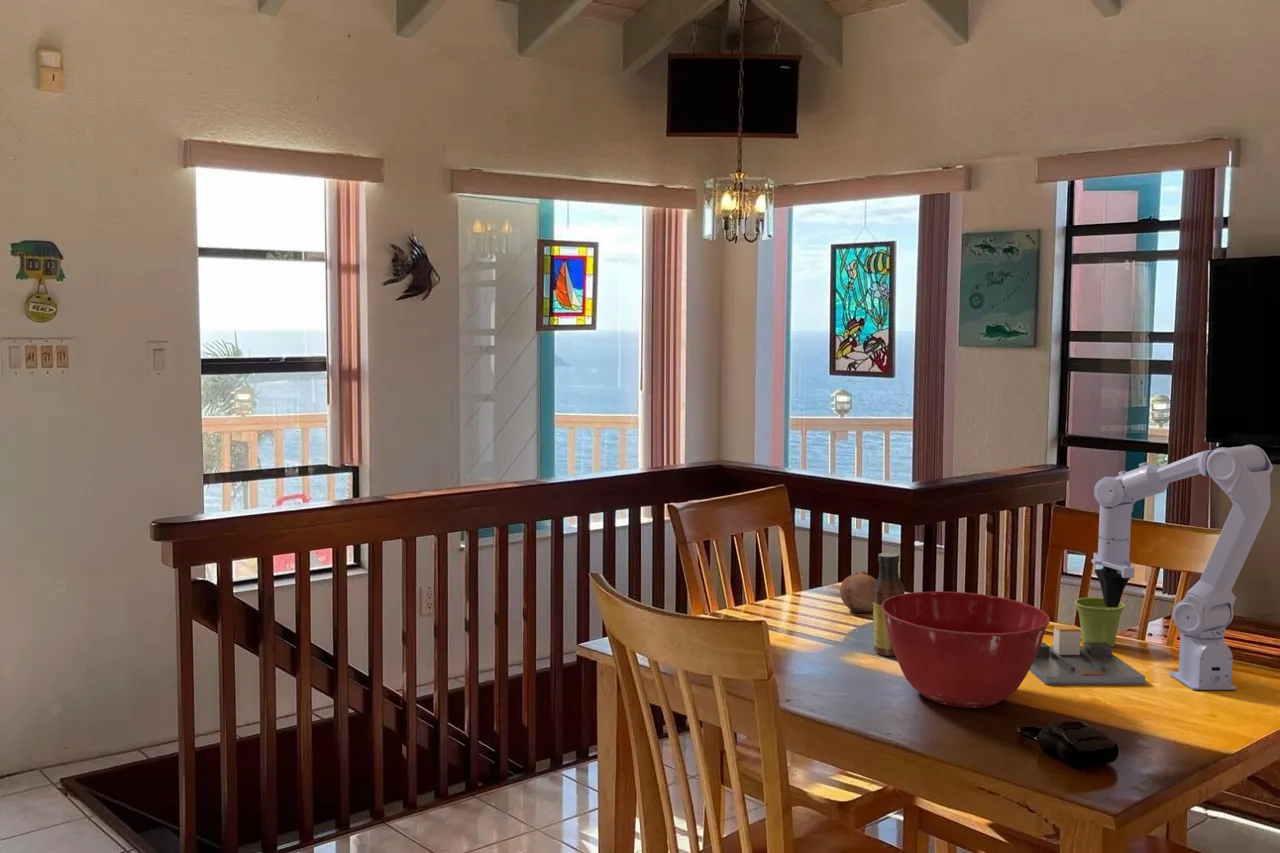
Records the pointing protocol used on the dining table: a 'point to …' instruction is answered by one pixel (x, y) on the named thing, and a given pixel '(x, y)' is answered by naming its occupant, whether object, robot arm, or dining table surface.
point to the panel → (1084, 667)
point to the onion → (858, 592)
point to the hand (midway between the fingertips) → (1111, 606)
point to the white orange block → (1066, 639)
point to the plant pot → (1098, 620)
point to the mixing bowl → (963, 644)
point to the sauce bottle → (883, 590)
